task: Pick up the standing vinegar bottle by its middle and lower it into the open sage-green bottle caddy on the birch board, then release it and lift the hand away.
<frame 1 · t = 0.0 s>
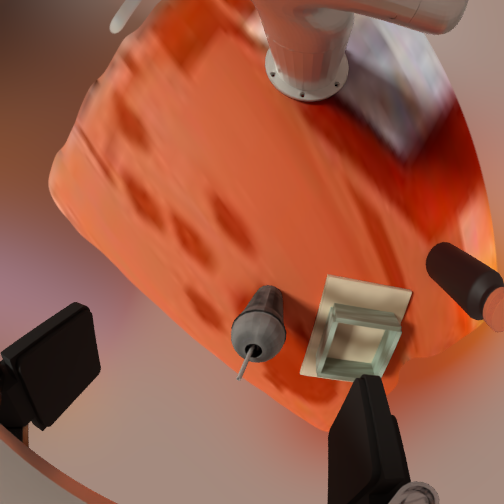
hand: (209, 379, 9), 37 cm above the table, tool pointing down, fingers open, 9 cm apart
beverage cup: (269, 297, 48), on the table
bottle caddy: (354, 334, 47), on the table
vinegar: (441, 260, 41), on the table
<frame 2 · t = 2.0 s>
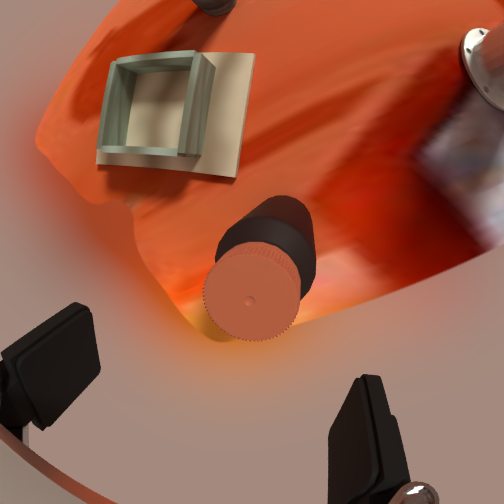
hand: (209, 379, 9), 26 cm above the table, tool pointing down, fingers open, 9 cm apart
beverage cup: (219, 4, 26), on the table
bottle caddy: (167, 109, 31), on the table
vinegar: (282, 224, 33), on the table
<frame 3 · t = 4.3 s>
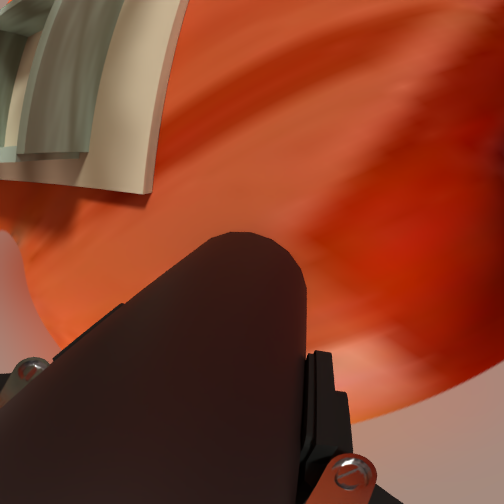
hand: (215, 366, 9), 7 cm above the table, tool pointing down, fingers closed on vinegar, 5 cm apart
bottle caddy: (55, 81, 14), on the table
vinegar: (244, 289, 16), on the table, touching gripper
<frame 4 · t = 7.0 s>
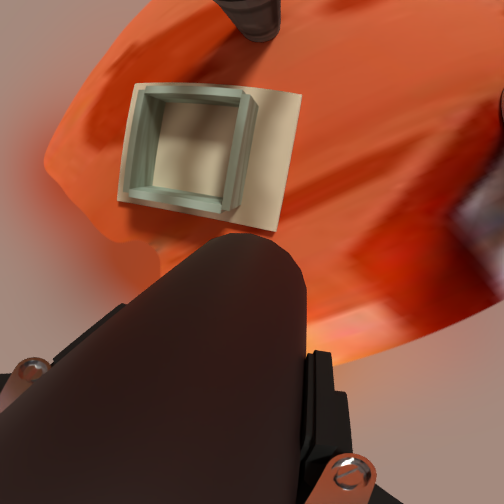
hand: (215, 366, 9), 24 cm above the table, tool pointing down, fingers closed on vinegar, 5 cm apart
beverage cup: (260, 27, 26), on the table
bottle caddy: (201, 148, 31), on the table
vinegar: (245, 290, 16), point 17 cm above the table, touching gripper
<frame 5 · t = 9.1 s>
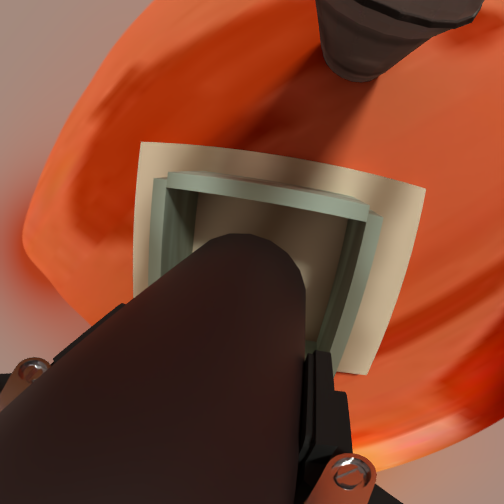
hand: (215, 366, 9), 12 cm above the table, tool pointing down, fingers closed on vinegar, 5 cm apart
beverage cup: (353, 55, 16), on the table
bottle caddy: (263, 262, 21), on the table
vinegar: (244, 290, 16), point 5 cm above the table, touching gripper
when the fingers open (9 cm above the table, at t = 10.2 s): vinegar drops 1 cm, resting on bottle caddy.
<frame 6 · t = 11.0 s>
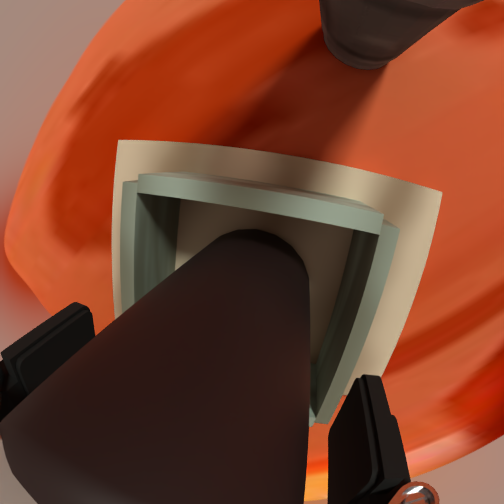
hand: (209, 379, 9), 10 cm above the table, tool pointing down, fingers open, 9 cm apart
beverage cup: (359, 40, 13), on the table
bottle caddy: (256, 276, 18), on the table
vinegar: (252, 282, 17), point 1 cm above the table, touching bottle caddy
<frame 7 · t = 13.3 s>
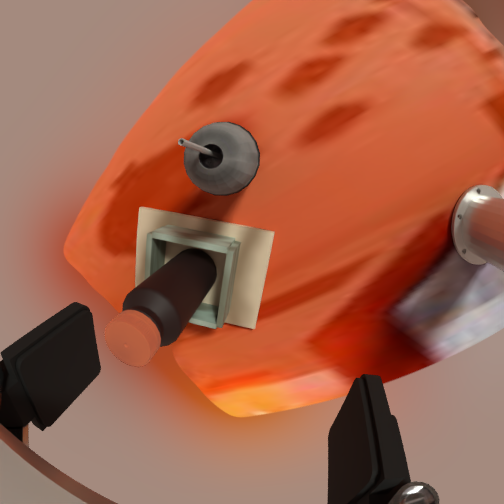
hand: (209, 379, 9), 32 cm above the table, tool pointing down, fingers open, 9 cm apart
beverage cup: (242, 162, 38), on the table
bottle caddy: (198, 267, 42), on the table
vinegar: (195, 269, 42), point 1 cm above the table, touching bottle caddy
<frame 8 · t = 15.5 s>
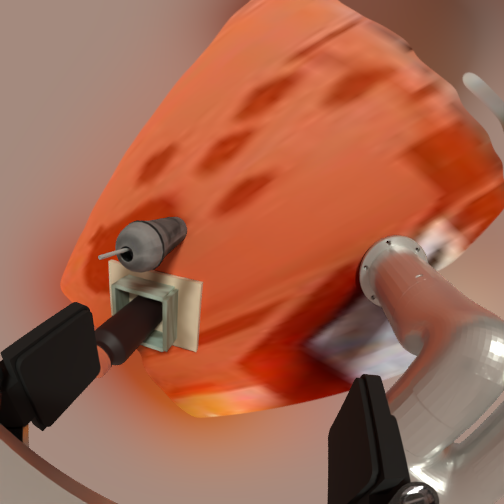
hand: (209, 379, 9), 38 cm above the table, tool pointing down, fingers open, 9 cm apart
beverage cup: (175, 229, 49), on the table
bottle caddy: (153, 305, 54), on the table
vinegar: (150, 307, 53), point 1 cm above the table, touching bottle caddy
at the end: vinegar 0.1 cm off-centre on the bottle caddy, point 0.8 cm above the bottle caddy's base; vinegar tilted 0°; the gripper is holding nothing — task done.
